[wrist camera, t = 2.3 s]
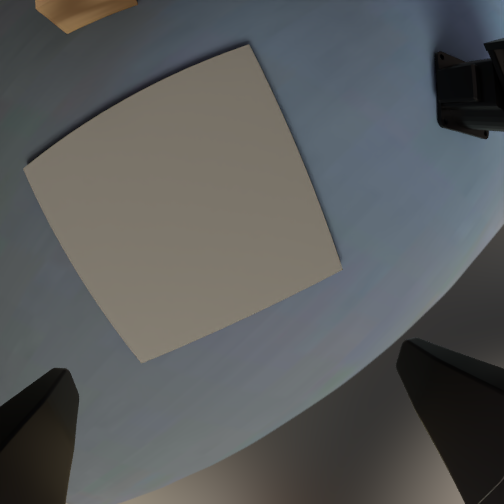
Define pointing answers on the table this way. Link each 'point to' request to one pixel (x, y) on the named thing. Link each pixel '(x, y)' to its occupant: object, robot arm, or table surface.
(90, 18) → the light brown cube
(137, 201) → the mat
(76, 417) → the robot arm
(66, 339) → the table surface
